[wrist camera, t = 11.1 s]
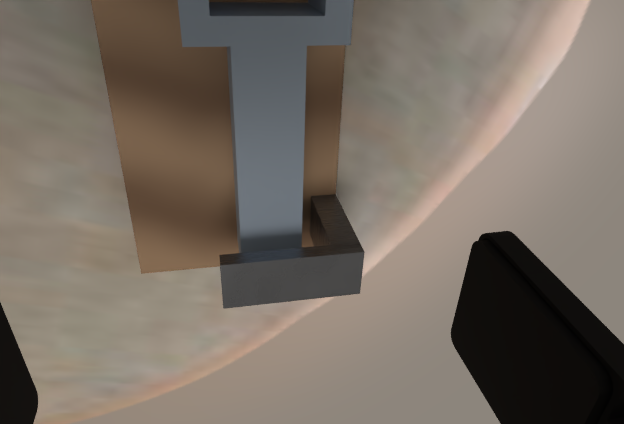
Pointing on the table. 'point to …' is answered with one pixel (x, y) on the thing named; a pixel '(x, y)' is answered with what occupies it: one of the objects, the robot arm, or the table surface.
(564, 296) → the robot arm
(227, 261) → the keeper
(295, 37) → the link
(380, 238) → the table surface
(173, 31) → the board
